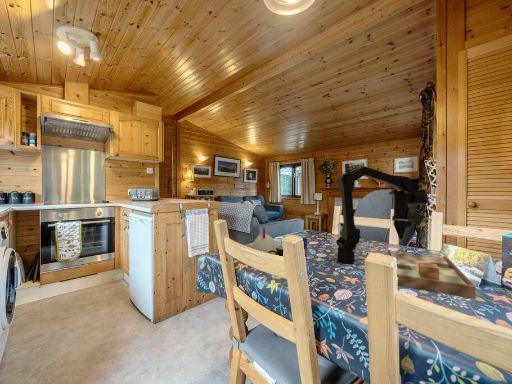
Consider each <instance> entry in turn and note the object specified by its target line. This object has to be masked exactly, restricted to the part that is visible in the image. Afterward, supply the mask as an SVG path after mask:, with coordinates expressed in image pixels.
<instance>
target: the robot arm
mask: <svg viewBox="0 0 512 384" xmlns="http://www.w3.org/2000/svg"><path fill="white" fill-rule="evenodd" d="M363 177H366V178H368V179H372V180H374V181H377V182H381V183H385V184H386V185H387V186H388V187H390V188H393V189H392V190H391V191H390V192H388V195H393V215H392V217H391V221H393V222H392V224H393V227H394V229H395V231H396V234H397V236H398V239H399V240H403V239H404V234H405V231H406V228H408V227H413V226H412V223H413V221H412V220H415V221H418V222H420V223H423V220H424V219H425V218H426V217H425V215H424V214H422V213H421V211H420V210H417V209H414V210H411V207H410V206H409V205H419V206H420V205H426V204H428V202H429V196H428V194H427V193H426V190H425V189H417V187H416V186H415V185H414V183H413V182H412V180H411V178H410V177H408V176H404V175H396V174H395V175H393V174H389V173H386V172H383V171H379V170H377V169H373V168H371V167H368V166H365V165H362V166H358V167H357V168H355V169H353V170H351V171H349V172H346V173H345V172H344V173H340V174H338V176H337V177H336V183H337V187H338V190H339V192H340V195H341V206H342V219H343V221H342V222H343V225H342V227H341V233H340V236H339V238H337V240H336V241H335V243H336V245H337V260H336V262H337V263H339V264H340V263H341V264H348V265H349V264H350V265H353V264H354V262H355V260H356V257H355V254H356V252H355V250H356V248H357V245H358V244H359V243H360V240H361V238H362V237H361V229H360V228H358V227H356V225H355V214H354V202H353V192H354V188H355V184H356V181H358V180H360V179H361V178H363Z"/></svg>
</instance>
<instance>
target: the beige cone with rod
mask: <svg viewBox="0 0 512 384" xmlns="http://www.w3.org/2000/svg"><path fill="white" fill-rule="evenodd" d="M277 246H278V244H277V243H276V241H275V240H274V239H273V238H272V237H271V236H270V235H268V234H266V226H263V227H262V233H261V234H259V235H258V236H257V237H256V238H255V239H254V241H253V243H251V244H250V246H249V247H250V248H253V249H256V250H259V251H263V252H266V253H268V252H269V251H272V250H273V251H276V252H277V248H276V247H277ZM250 248H249V249H250ZM270 254H275V255H276V253H274V252H271V253H270Z"/></svg>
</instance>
